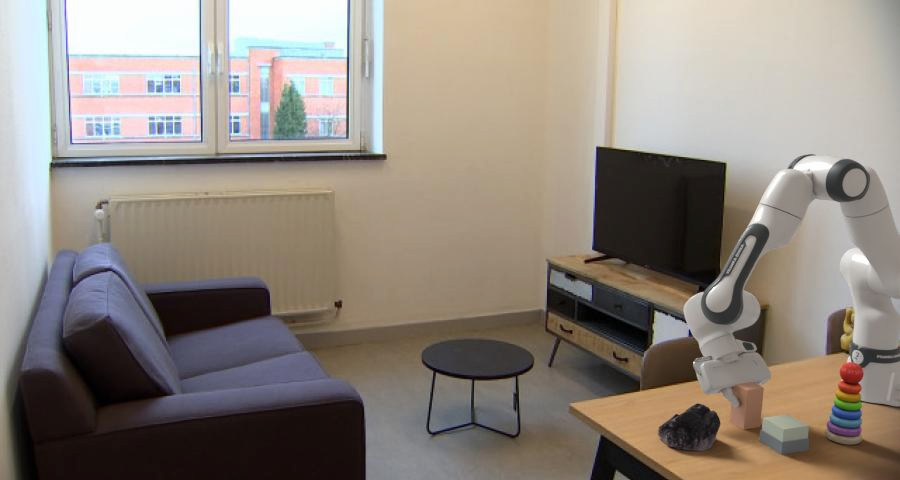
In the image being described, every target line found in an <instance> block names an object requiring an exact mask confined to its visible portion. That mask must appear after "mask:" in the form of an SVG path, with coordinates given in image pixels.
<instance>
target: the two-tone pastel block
mask: <svg viewBox="0 0 900 480" xmlns="http://www.w3.org/2000/svg"><path fill="white" fill-rule="evenodd" d="M809 430H810V425H809V424H807V423H804V422H803V421H801V420H799V419H797V418H795V417H794V416H793V415H789V414H788V413H787V414H780V415H774V416H773V415H772V416H766V417H763V418H762V425H761V429H760V430H759V438H758V439H759V443H762V444H763V445H765V446H767V447H768V448H770V449H772V450H773V451H775V452H776V453H778V454H780V455H788V454H793V453H799V452H807V451H809V447H810V437H809Z"/></svg>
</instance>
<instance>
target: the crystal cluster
mask: <svg viewBox="0 0 900 480" xmlns="http://www.w3.org/2000/svg"><path fill="white" fill-rule="evenodd" d="M720 428H721V419H720V417H719V415H718V413H717V412H716V411H715V410H711V409H710V407H709V406H706V405H705V404H701V403H695V404H693V405H692V406H690V407H689V408H687V409H686V410H685V411H684V412H682V413H680V414H678V413H675V414H674V415H672V416H671V418H669V419H668V420H667V421H665V422H663V424H661V425H660V426H659V427H658V430H657V431H658V432H657V436H658V437H659V438H660V439H661V440H662V442H663V443H664V444H666V446H668V447H670V448H676V449H678V450H685V451H699V452H705V451H707V450H708V449H711V448H712V447H713V445H714V442H715V441H716V438H717V435H718V431H719V429H720Z"/></svg>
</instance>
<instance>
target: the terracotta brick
mask: <svg viewBox="0 0 900 480" xmlns="http://www.w3.org/2000/svg"><path fill="white" fill-rule="evenodd" d="M764 390H765V389H764V387H763V386H762V385H757V384H755V383H753V382H748V383H742V384H737V385H736V386H734V387H733V390H732V391H733V392H731V393H732V394H733V395H734V396H735V397H736V398H740V400H741V402H742V405H741V406H740V407H736V408H734V407H733V405H732V403H731V402H730V415H729V423H731V424H732V425H735V426H736V427H738V428H740V429H742V430H744V431H745V430H750V429H757V428H761V421H762V414H763V413H762V411H763V401H764Z"/></svg>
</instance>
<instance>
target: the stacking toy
mask: <svg viewBox="0 0 900 480" xmlns="http://www.w3.org/2000/svg"><path fill="white" fill-rule="evenodd" d="M839 376H840V378H841V380H843V381H841V380H840V381H839V382H838V383H837V388H838V389H837V390H835V397H834V398H833V405H832V406H831V413H830V414H829V420H828V421H827V423H826V429H825V431H824V434H825V437H827V439H828V440H830V441H832V442H834V443H838V444H841V445H849V446H850V445H851V446H853V445H858V444H860V443H861V442H862V441H863V435H862V429H863V428H862V424H863V419H862V415H863V411H862V410H861V409H862V407H863V403H862V402H861V394H860V393H859V392H860V391H861V390H862V386H861V385H860V384H859V382H860V381H861V380H862V378H863V376H864V372H863V369H862V367H861V366H860V365H859V364H857V363H854V362H848V363H847V362H846V363H844V364H842V365H841V367H840V369H839Z"/></svg>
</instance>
